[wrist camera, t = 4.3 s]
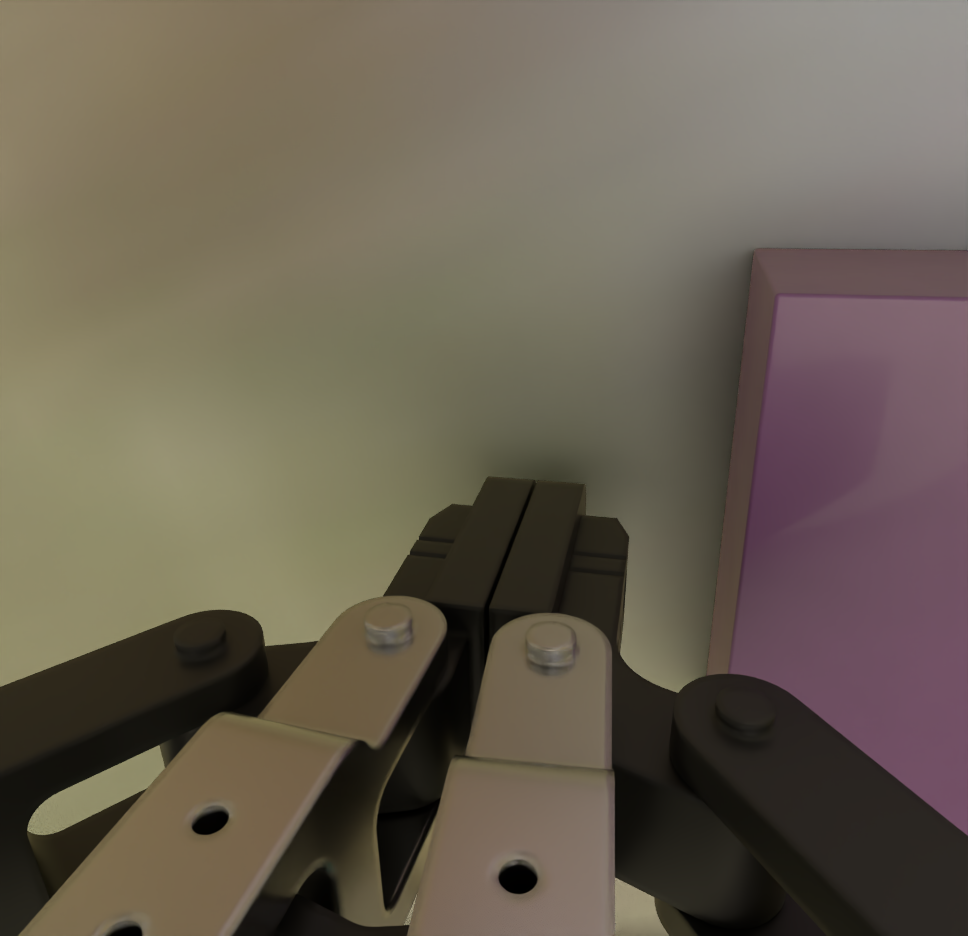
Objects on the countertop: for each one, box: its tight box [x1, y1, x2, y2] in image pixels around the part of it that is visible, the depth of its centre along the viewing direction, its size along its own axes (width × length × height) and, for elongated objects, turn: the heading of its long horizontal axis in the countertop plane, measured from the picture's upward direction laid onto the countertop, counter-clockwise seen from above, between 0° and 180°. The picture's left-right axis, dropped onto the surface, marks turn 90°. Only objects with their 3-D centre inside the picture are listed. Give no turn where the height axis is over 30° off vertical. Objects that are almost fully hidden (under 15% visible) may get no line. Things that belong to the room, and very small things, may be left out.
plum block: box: [706, 248, 968, 836], centre depth 11 cm, size 8×5×3 cm, turn 2°
